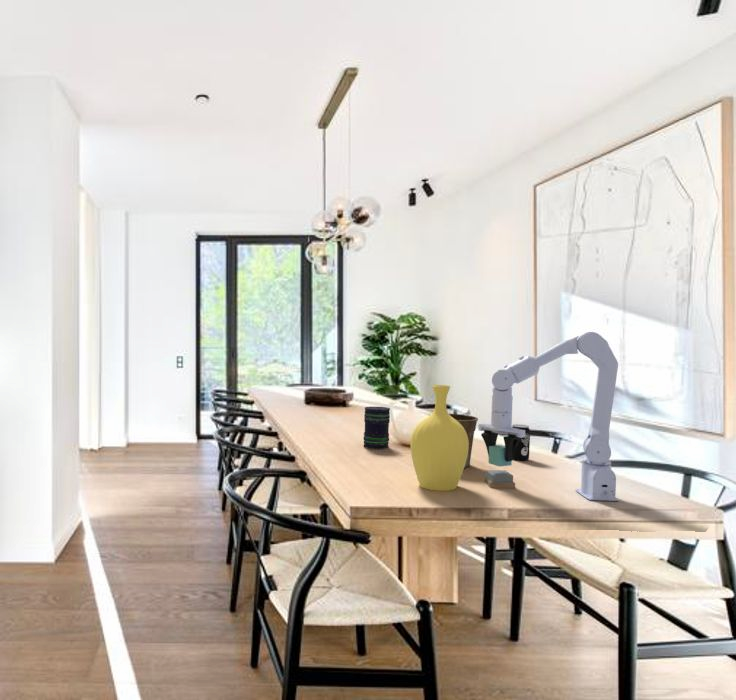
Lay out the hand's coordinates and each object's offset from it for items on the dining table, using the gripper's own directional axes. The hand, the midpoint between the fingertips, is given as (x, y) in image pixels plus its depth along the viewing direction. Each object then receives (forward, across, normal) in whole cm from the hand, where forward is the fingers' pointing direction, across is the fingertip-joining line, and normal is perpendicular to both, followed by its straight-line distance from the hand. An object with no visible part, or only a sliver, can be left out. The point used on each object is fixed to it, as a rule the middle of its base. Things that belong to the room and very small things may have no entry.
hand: (500, 459), depth 151 cm
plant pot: (+8, +25, -8) cm, 27 cm away
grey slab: (+6, 0, 0) cm, 6 cm away
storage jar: (+8, +61, -8) cm, 62 cm away
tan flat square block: (+8, 0, 0) cm, 8 cm away
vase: (+8, +9, +16) cm, 20 cm away
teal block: (+1, 0, 0) cm, 1 cm away
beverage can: (+8, +17, -36) cm, 41 cm away
